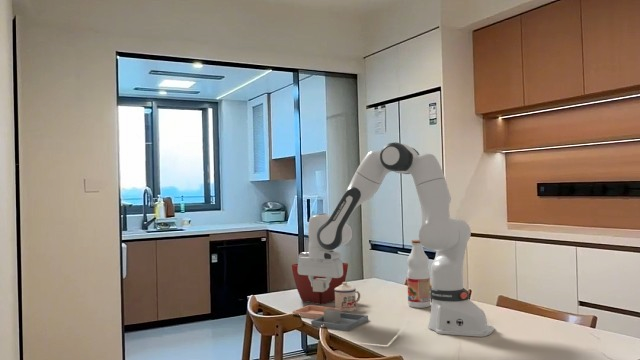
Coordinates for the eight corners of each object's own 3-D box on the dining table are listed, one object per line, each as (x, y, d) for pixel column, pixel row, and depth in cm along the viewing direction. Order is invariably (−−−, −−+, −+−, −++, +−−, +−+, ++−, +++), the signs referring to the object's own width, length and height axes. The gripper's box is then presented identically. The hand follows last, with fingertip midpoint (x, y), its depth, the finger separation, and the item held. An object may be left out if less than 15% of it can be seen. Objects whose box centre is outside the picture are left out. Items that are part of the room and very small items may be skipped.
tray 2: (368, 321, 198) (368, 315, 198) (347, 332, 184) (347, 325, 184) (333, 317, 206) (333, 311, 206) (311, 327, 192) (311, 320, 192)
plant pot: (350, 299, 238) (349, 262, 238) (321, 307, 224) (320, 268, 224) (320, 294, 251) (319, 259, 251) (291, 301, 237) (290, 264, 238)
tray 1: (341, 314, 210) (341, 308, 210) (325, 321, 200) (325, 315, 200) (309, 310, 218) (309, 305, 218) (292, 317, 208) (292, 311, 208)
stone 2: (340, 321, 197) (340, 309, 197) (333, 324, 193) (332, 311, 194) (331, 319, 200) (331, 308, 200) (323, 322, 196) (323, 310, 196)
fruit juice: (430, 308, 216) (428, 241, 217) (407, 308, 218) (405, 241, 219) (430, 303, 225) (428, 238, 226) (408, 303, 227) (406, 239, 228)
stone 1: (323, 292, 209) (322, 280, 209) (312, 291, 211) (312, 280, 211) (327, 289, 213) (327, 278, 213) (317, 289, 215) (317, 278, 215)
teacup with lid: (342, 313, 212) (341, 285, 212) (330, 309, 220) (329, 281, 220) (366, 309, 218) (365, 281, 218) (354, 305, 225) (353, 278, 226)
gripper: (294, 252, 215) (294, 286, 215) (336, 255, 204) (337, 290, 204) (302, 251, 220) (303, 283, 220) (344, 253, 209) (345, 288, 209)
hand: (320, 287), depth 212 cm, fingers closed on stone 1, 5 cm apart
